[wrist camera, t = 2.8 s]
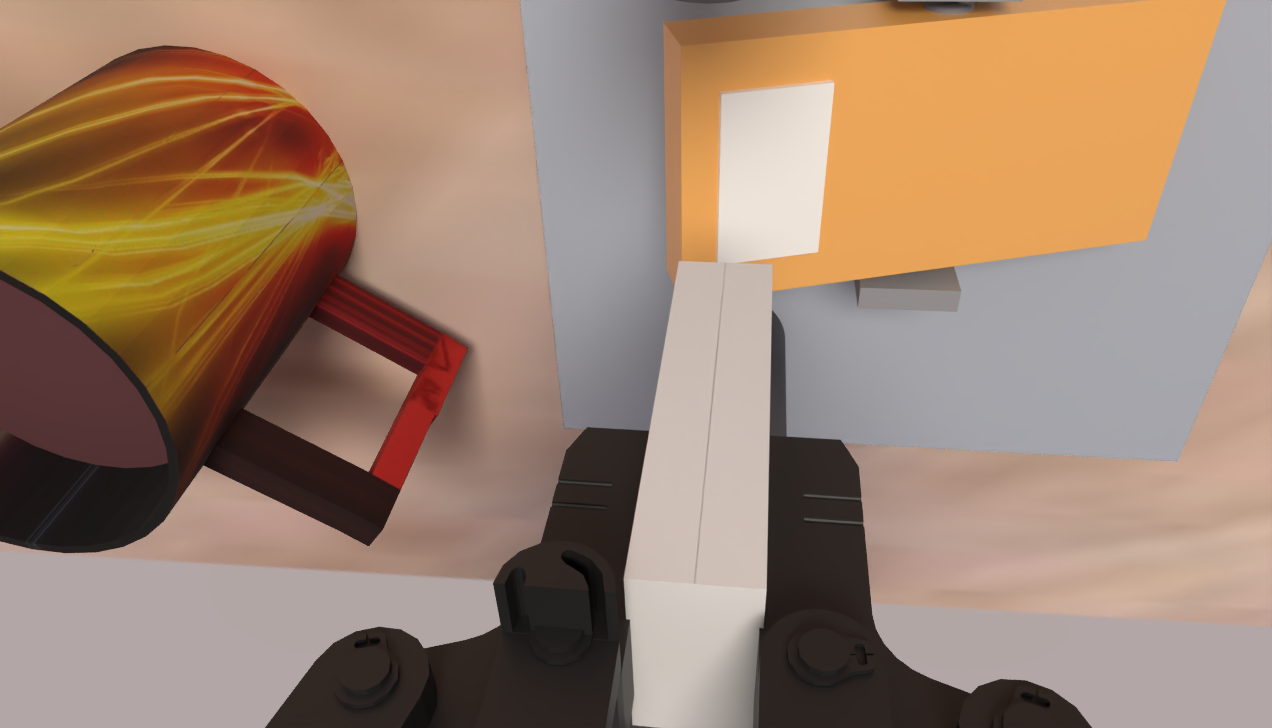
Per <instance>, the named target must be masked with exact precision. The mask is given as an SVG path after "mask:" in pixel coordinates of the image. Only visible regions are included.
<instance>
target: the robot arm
mask: <svg viewBox="0 0 1272 728" xmlns="http://www.w3.org/2000/svg"><path fill="white" fill-rule="evenodd" d="M772 272H773V264H748V263H721V262H694V261H679V263H678V269H677V275H676V281H675V286H674V292H673V298H672V304H671V309H670V315H669V321H668V327H667V332H666V338H665V344H664V350H663V355H662V361H661V367H660V373H659V378H658V384H657V390H656V396H655V401H654V407H653V413H652V419H651V424H650V430H649V431H645V430H628V429H611V428H594V427H587V428H586V429H585V430H584V431H583V432H582V434H581V435H580V436H579V437H578V438H577V439H576V440H575V441H574V443H573V444H572V445H571V446H570V447H569V448H568V449H567V450H566V453H565V457H564V461H563V464H562V468H561V472H560V475H559V482H558V484H557V486H556V490H555V493H554V497H553V501H552V507H551V508H550V512H549V515H548V519H547V523H546V526H545V530H544V533H543V537H542V541H541V543H540V544H538V545H535V546H532V547H530V548H527V549H525V550H522V551H520V552H519V553H518V554H516V555H515V556H514V557H513V558H511V559H510V560H509V561H508V562H507V563H505V564H504V565H503V566H502V568H501V570H500V572H499V574H498V575H497V577H496V579H495V581H494V582H493V585H494V590H495V596H496V601H497V607H498V612H499V617H500V623H501V625H500V626H498V627H497V628H495V629H493V630H491V631H489V632H487V633H485V634H483V635H480V636H477V637H474V638H471V639H467V640H463V641H459V642H454V643H449V644H444V645H439V646H434V647H429V648H423V647H422V645H421V643H420V642H419V640H418V639H416V638H415V637H413V636H411V635H409V634H408V633H406V632H404V631H402V630H401V629H393V628H384V627H376V628H371V629H366V630H361V631H356V632H354V633H352V634H350V635H348V636H346V637H344V638H343V639H341V640H339V641H337V642H335V643H333V644H332V645H331V646H330V647H329V648H328V649H327V650H326V651H325V652H324V653H323V654H322V655H321V656H320V657H319V658H318V659H317V660H316V661H315V662H314V664H313V665H312V666H311V668H310V669H309V670H308V672H307V673H306V674H305V676H304V677H303V678H302V680H301V681H300V682H299V684H298V685H297V686H296V688H295V689H294V690H293V692H292V693H291V694H290V695H289V697H288V698H287V699H286V701H285V702H284V704H283V705H282V706H281V707H280V709H279V710H278V712H277V713H276V714H275V715H274V717H273V718H272V719H271V721H270V722H269V723H268V725H267V726H266V727H265V728H630V721H631V714H632V725H636V726H646V727H657V728H1092V727H1091V726H1090V725H1089V723H1088V722H1087V721H1086V719H1085V718H1084V717H1083V716H1082V715H1081V713H1080V712H1079V711H1078V709H1077V708H1076V707H1075V706H1074V705H1072V704H1071V703H1069V702H1068V701H1067V700H1065V699H1064V698H1062V697H1061V696H1060V695H1058V694H1057V693H1055V692H1054V691H1053V690H1050V689H1048V688H1045V687H1042V686H1039V685H1037V684H1034V683H1031V682H1028V681H1025V680H1007V679H1006V680H1005V679H1000V680H996V681H993V682H990V683H987V684H984V685H981V686H978V687H977V688H976V689H975V690H974V691H973V692H972V693H971V694H970V693H968V692H965V691H962V690H960V689H957V688H954V687H952V686H949V685H946V684H944V683H941V682H939V681H936V680H933V679H931V678H929V677H927V676H924V675H922V674H920V673H918V672H916V671H914V670H912V669H911V668H909V667H908V666H907V665H906V664H904V663H903V662H902V661H900V660H899V659H897V658H896V657H895V656H894V655H893V653H892V652H891V651H890V650H889V649H888V648H887V647H886V646H885V644H884V643H883V641H882V639H881V638H880V636H879V634H878V632H877V630H876V628H875V624H874V620H873V616H872V607H871V596H870V586H869V575H868V564H867V553H866V542H865V531H864V527H863V510H862V502H861V488H860V477H859V467H858V465H857V464H856V462H855V461H854V459H853V458H852V456H851V455H850V453H849V451H848V450H847V448H846V447H845V445H844V444H843V442H842V441H841V440H837V439H820V438H803V437H786V436H769V433H770V379H771V325H772Z"/></svg>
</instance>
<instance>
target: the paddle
mask: <svg viewBox="0 0 1272 728" xmlns="http://www.w3.org/2000/svg"><path fill="white" fill-rule="evenodd" d="M1225 3H1226V0H1022V2H949V1H898V0H894V1H884V2H873V3H862V4H852V5H841V6H830V7H820V8H809V9H798V10H788V11H777V12H766V13H755V14H745V15H734V16H723V17H713V18H702V19H691V20H681V21H670V22H663V36H664V107H665V179H666V250H667V271H668V273H669V275H670V278H671V280H672V282H673V284H674V286H675V281H676V275H677V269H678V263H679V261H694V262H721V263H748V264H773V272H772V291H777V290H784V289H792V288H799V287H806V286H814V285H821V284H828V283H836V282H843V281H850V280H858V279H865V278H872V277H880V276H887V275H894V274H902V273H909V272H916V271H924V270H931V269H938V268H946V267H953V266H960V265H968V264H975V263H982V262H990V261H997V260H1004V259H1012V258H1019V257H1026V256H1034V255H1041V254H1048V253H1056V252H1063V251H1070V250H1078V249H1085V248H1092V247H1100V246H1107V245H1114V244H1122V243H1129V242H1136V241H1144V240H1146V239H1147V236H1148V233H1149V230H1150V227H1151V224H1152V221H1153V218H1154V215H1155V212H1156V209H1157V206H1158V203H1159V200H1160V197H1161V194H1162V191H1163V188H1164V185H1165V182H1166V179H1167V176H1168V173H1169V170H1170V167H1171V164H1172V161H1173V158H1174V155H1175V152H1176V149H1177V146H1178V143H1179V140H1180V137H1181V134H1182V131H1183V128H1184V126H1185V123H1186V120H1187V117H1188V114H1189V111H1190V108H1191V105H1192V102H1193V99H1194V96H1195V93H1196V90H1197V87H1198V84H1199V81H1200V78H1201V75H1202V72H1203V69H1204V66H1205V63H1206V60H1207V57H1208V54H1209V51H1210V48H1211V45H1212V42H1213V39H1214V36H1215V33H1216V30H1217V27H1218V24H1219V21H1220V18H1221V15H1222V12H1223V9H1224V6H1225Z"/></svg>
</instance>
